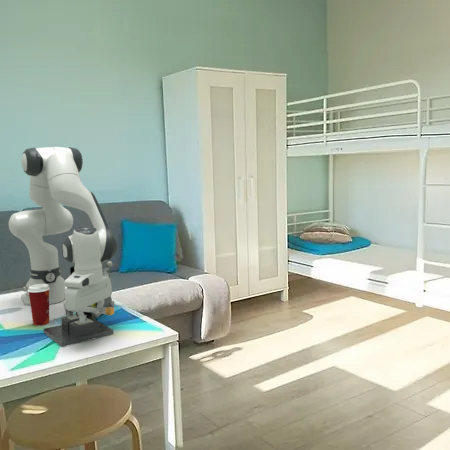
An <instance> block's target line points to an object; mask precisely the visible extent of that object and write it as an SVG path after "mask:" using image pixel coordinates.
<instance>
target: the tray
mask: <svg viewBox="0 0 450 450" xmlns="http://www.w3.org/2000/svg"><path fill="white" fill-rule="evenodd" d="M84 315H86V314H85V313H84ZM86 318H87V320H85V321H83V322H82V321H80V320H79V315H78V314H76V313H75V314H74V312H73V311H65V316H62V317H60V321H61V322H60V325H54V326H50V327H47V328H43V334H44V333H45V334H44V335H45V336H47V337H48V338H49V339H51V340H52V341H53V342H55V343H56V344H57V345H59V346H60V347H61V348H63V347H68V346H71V345H76V344H79V343H83V342H87V341H91V340H95V339H98V337H99V338H103V337H107V336H110V335H114V329H113V328H111V327H109V326H108V325H106V324H104V323H102V322H100V321H99V320H97V319H96V318H95V319H94V318H92V317H90V316H88V315H86ZM102 336H103V337H102ZM94 338H95V339H94ZM67 345H68V346H67Z"/></svg>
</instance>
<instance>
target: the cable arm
mask: <svg viewBox="0 0 450 450" xmlns="http://www.w3.org/2000/svg"><path fill="white" fill-rule="evenodd" d="M63 307H64V308H63V309H64V311H65V312H66V311H68V310H67V309H66V304H65V302H64V303H63ZM95 308H97V306H91V305H90V306H88V307H85V308H84V311H83V312H92V313H96V309H95ZM102 311H103V312H102V313H101V315H102V314H103V315H107V316H112V315H114V314H115V307H114V306H112V307H103V308H102Z"/></svg>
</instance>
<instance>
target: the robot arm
mask: <svg viewBox="0 0 450 450" xmlns="http://www.w3.org/2000/svg"><path fill="white" fill-rule="evenodd" d="M20 161H21V162H20V163H21V166H22V169H23V172H24V173H25V174H26V175H27V176H30V178H29V191H28V193H29V194H28V197H29V199H30V200H31V202H32V203H34V204H36V205H38V206H39V207H42V208H41V209H32V210H31V209H30V210H22V211H18V212H15V213H12V214H11V215H10V218H9V219H8V229H9V231H10V233H11V234H12V235H13V236H14V237H16V238H18V239H19V240H20V241H22V242H23V244H24V245H25V246H26V248H27V250H28V254H29V260H30V269H29V279H28V281H27V283H26V285H25V286H23V287H22V289H23V292H25V293H22V294H21V299H22V302H23V304H24V305H26V306H27V305H28V306H29V305H30V298H29V292H28V289H29V286H31V285H36V284H48V286H49V288H50V289H49V305H52V304H56V303H57V304H58V303H61V302H63V301H64V303H65V304H66V309H67V310H68V311H73V313H74V312H75V313H76V312H77V314H78V315H79V320H80V321H82V322H83V321H85V320H87V318H86V315H84V313H83V311H84V308H85V307H88V306H90V305H92V304H94V303H97V302H98V304H97V308H95V309H96V313H97V314H100V313H102V312H103V311H102V308H103V305H104V299H106V298H108V297H110V296H111V297H112V294H113V291H112V290H113V288H112V282H111V277H110V278H109V274H108V273H107V272H106V271H102V264H101V261H100V260H111V259H113V257H114V256H116V253H117V252H118V242H117V239H116V236H115V235H114V232H112V230H111V228H110V226H109V223H108V222H107V220H106V219H107V218H106V217H105V215H104V213H103V210H102V208H101V206H100V203H99V201H98V199H97V198H96V196H95V193H93V192H91V191H90V190H89V189H87V188H86V186H85V185H84V184H83V182H82V180H81V177H80V172H81V171H82V170H83V164H84V163H83V162H84V161H83V156H82V153H81V152H80V150H79V149H78V148H75V147H70V146H69V147H65V146H64V147H62V146H51V147H50V146H49V147H48V146H47V147H46V146H45V147H43V146H42V147H37V148H36V147H29V148H27V149H25V150H24V151H23V152H22V156H21V159H20ZM64 206H66V207H70V208H74V209H77V210H80V211H82V212H84V213H85V214H87V215H88V217H89V219H90V222H91V223H92V226H89V225H87V226H86V225H85V226H78V227H76V228H74V230H73V233H72V234H71V235H68V236H66V237H65V238H64V239H63V241H62V242H61V253H62V254H61V255H62V258H63V259H64V260H65V261H66V262H68V263H70V264H71V263H73V264H74V266H75V267H74V271H75V272H73V273H72V275H71V274H70V275H69V276H68V277H67V278H66V279H65V278H63V277H62V276H61V267H60V264H59V251H58V248H57V247H56V246H55V245H53V244H50V243H48V242H46V241H44V239H43V236H50V235H60V234H62V233H65V232H69V231H70V230H71V229H72V228H73V226H74V217H73V214H72V213H71V211H70V210H69V209H67V208H66V207H64ZM30 306H31V305H30Z"/></svg>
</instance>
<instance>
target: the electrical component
mask: <svg viewBox="0 0 450 450" xmlns="http://www.w3.org/2000/svg"><path fill="white" fill-rule="evenodd" d="M110 260H111V259H110ZM110 260H100V261H101V264H102V271H106V272H107V273H108V274H109V278H110V279H111V275H110V274H111V271H110V268H111V267H113V262H112V260H111V261H110ZM74 267H75V265H72V266H71V267H70V268H69V271H70V276H71V275H72V273H73V272H75V271H74ZM97 304H98V302H97V303H94V304H92V305H91V306H97ZM114 306H115V301H114V300H113V298H112V295H111V296H110V297H108V298H106V299H104V305H103V307H114ZM83 313H85V314H86V315H88V316H90V317H92V318H94V319H95V320H96V318H99V317H100V316H101V315H102V314H101V313H100V314H97V313H92V312H83ZM75 314H77V312H75Z"/></svg>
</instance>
